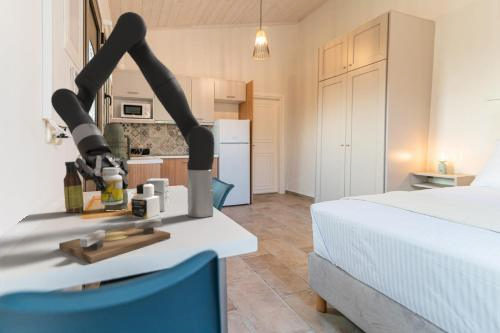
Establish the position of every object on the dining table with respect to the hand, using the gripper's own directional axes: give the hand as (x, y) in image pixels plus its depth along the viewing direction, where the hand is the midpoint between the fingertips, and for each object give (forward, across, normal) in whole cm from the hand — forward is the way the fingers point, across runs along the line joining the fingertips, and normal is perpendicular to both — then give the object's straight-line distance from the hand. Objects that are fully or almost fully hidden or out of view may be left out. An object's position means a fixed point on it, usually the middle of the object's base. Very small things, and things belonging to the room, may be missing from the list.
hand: (115, 188), depth 78 cm
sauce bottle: (-24, +11, +46) cm, 53 cm away
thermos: (-17, +23, +39) cm, 49 cm away
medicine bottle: (-4, +23, +25) cm, 34 cm away
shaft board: (+11, 0, +10) cm, 15 cm away
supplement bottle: (+2, 0, +4) cm, 5 cm away
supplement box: (-7, +33, +28) cm, 44 cm away
